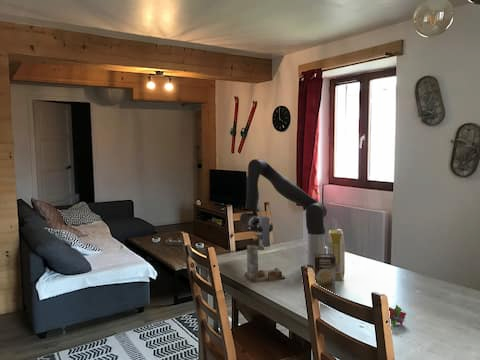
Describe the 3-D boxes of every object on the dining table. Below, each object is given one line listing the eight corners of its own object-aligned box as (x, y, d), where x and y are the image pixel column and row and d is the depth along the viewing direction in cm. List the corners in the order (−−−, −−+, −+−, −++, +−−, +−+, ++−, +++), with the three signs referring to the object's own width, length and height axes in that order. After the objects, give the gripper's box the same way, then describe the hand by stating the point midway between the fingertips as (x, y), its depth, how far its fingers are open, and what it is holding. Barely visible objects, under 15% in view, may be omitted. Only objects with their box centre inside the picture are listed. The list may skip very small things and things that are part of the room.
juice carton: (344, 281, 189) (344, 231, 187) (327, 281, 190) (327, 231, 188) (343, 275, 198) (343, 227, 196) (327, 274, 199) (327, 227, 197)
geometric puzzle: (405, 314, 146) (392, 297, 146) (414, 322, 139) (401, 304, 139) (390, 326, 146) (377, 309, 146) (398, 334, 139) (384, 317, 139)
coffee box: (314, 293, 175) (314, 257, 173) (313, 288, 181) (312, 253, 180) (335, 293, 174) (335, 257, 172) (333, 288, 180) (333, 253, 179)
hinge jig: (276, 271, 207) (275, 240, 206) (284, 278, 195) (284, 246, 193) (244, 274, 203) (244, 243, 202) (251, 282, 191) (251, 249, 189)
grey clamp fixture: (266, 244, 210) (266, 215, 209) (269, 246, 205) (269, 217, 204) (252, 245, 208) (251, 216, 207) (254, 247, 203) (254, 218, 202)
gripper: (244, 218, 218) (252, 224, 202) (269, 216, 222) (279, 222, 205) (244, 231, 219) (252, 238, 202) (269, 230, 222) (279, 236, 206)
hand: (266, 230), depth 204 cm, fingers closed on grey clamp fixture, 4 cm apart
